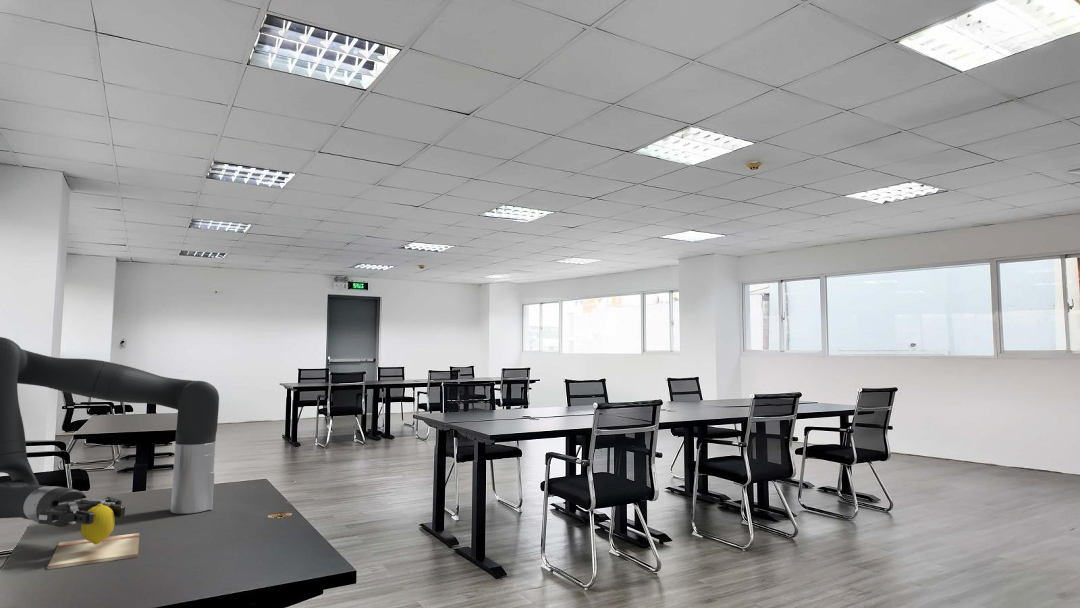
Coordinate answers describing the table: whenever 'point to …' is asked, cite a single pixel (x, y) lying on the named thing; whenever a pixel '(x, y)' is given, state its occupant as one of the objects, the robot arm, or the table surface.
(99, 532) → the lemon
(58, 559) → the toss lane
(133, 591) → the table surface
